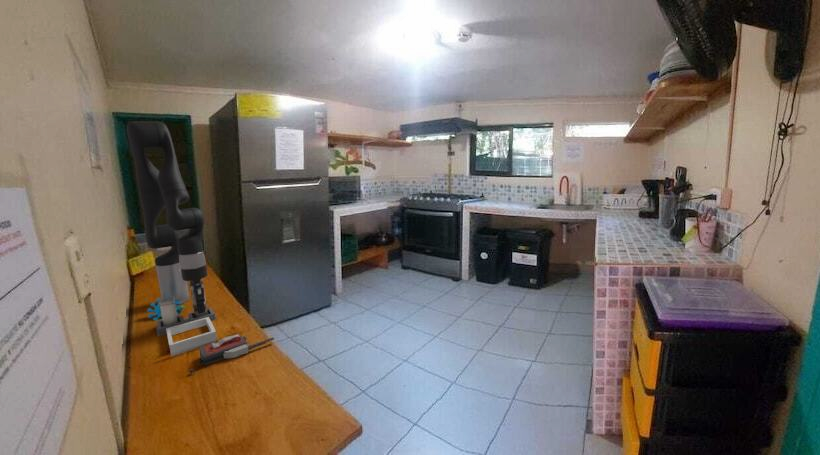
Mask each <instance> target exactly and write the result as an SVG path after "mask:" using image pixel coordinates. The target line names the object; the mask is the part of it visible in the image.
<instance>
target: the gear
mask: <svg viewBox="0 0 820 455" xmlns="http://www.w3.org/2000/svg"><path fill="white" fill-rule="evenodd" d="M165 298H169V297H166V296H165V297H164V299H165ZM172 298H174V297H172ZM160 300H162V297H161V298H160V297H159V298H156V302H157V305H156V303H155V302H151V303H150V307H149V308H148V309H147V313H149V314H148V319H152V320H153V321H154V322H157V321H159V319H162V314H161V309H160V305H159V301H160ZM174 300H176V299H175V298H174ZM175 304H177V305H175V308H176V314H177V316H179V313H182V312H183V310H184V309H185V305H184V304H180V302H179V301H176V302H175ZM151 307H153V308H154V309H152V308H151ZM152 313H154V314H152Z"/></svg>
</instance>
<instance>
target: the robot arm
mask: <svg viewBox="0 0 820 455" xmlns="http://www.w3.org/2000/svg"><path fill="white" fill-rule="evenodd" d="M126 133H127V139H128V142H129V147H130V151H131V155H132V158H133V161H134V166H135V168H134V169H135V174H136V175H135V176H136V182H137V190H138V195H139V200H140V205H141V208H142V214H143V222H144V223H143V224H144V234H145V235H144V236H145V241H146V244H147V246H148V248H150V249H153V250H155V249H164V248H170V249H169V250H168V251H166V252H164V253H163V254H161V255H158V256H156V257H155V259H154V264H155V269H156V270H155V271H156V273H157V279H158V285H159V290H160V297H161V300H162V299H164V297H165V296H166V297H169V298H172V297H174V298H175V299H176V300H175V302H176V301H179V302H180V304H179V305H183V304H184V303H186V302H188V301H190V294H191V293H192V294H193V297H194V298H195V301H196V302H195V303H196V305H197V311H198V313H199V314H200V313H204V312H205V306H204V302H205V298H206V297H205V298H204V295H205V296H206V292H205V293H204V291H205V285H204V284H205V283H204V282H203V279H205V278H206V277H208V268H207V262H206V256H205V253H204V248H203V242H202V239H203V238H202V237H203V232H204V225H205V216H204V213H203V212H202V210H201V209H199V208H197V207H189V208H179V206H180V205H184V204H185V203H187V202H189V200H190V195H189V192H188V190H187V187H186V184H185V182H184V181H183V180H184V179H183V177H182V175H181V171H180V168H179V164H178V159H177V158H178V157H177V155H176V151H175V147H174V143H173V139H172V136H171V132H170V130H169V128H168V126H167V125H166V123H164V122H163V121H158V120H157V121H156V120H155V121H153V120H150V121H149V120H147V121H146V120H141V121H139V120H134V121H128V123H127V124H126ZM158 149H159V150H160V149H161V150H162V152H163V161H162V164H161V167H160V169H158V168H157V167H156V166H154V165H153V162H151V161H150V160H149V159H148V157H147V154H146V150H158ZM164 210H165V220H166V224H159V225H157V221H158V218H159V217H160V216H161V214H162V212H163V211H164ZM184 230H188V233H186V234H185V235H183V236H180V231H184ZM188 282H189V283H188ZM188 284H189V285H188ZM189 288H190V293H189ZM194 293H195V294H194ZM198 298H202V299H200V300H198ZM175 306H178V305H177V304H175Z"/></svg>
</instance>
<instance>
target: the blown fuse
mask: <svg viewBox="0 0 820 455" xmlns="http://www.w3.org/2000/svg"><path fill="white" fill-rule="evenodd" d="M204 293H205V295H204V298H205V302H204V306H205V312H204V313H200V314H199V313H198V311H197V305H196V303H195V302H196V301H195V298H194V297H193V294H192V293H191V292H190V297H191V301H192V310H193V312H194V314H195V318H197V317H201V316H205V315H208V311H207V308H208V305H207V304H208V303H207V300H206V291H205V290H204ZM194 294H195V293H194ZM200 299H202V298H198V300H200Z"/></svg>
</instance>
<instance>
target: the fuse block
mask: <svg viewBox="0 0 820 455" xmlns="http://www.w3.org/2000/svg"><path fill="white" fill-rule="evenodd" d="M207 311H208V315H205V316H201V317H197V318H195V314H194V311H193V312H188V313H187V318H184V316H183V314H180V315H177V319H178V323H175V324H171V325H168V326H164V327H163V320H162V319H160V320H156V335H157V337H161V336H163V335H167V331H166V328H170V327H173V326H177V325H181V324H184V323H188V322H191V321H195V320H199V319H202V318H206V317H209V318H210V320H211V322H213V321H217V317H216V314H215V312H214V310H213V308H212V307H207Z"/></svg>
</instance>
